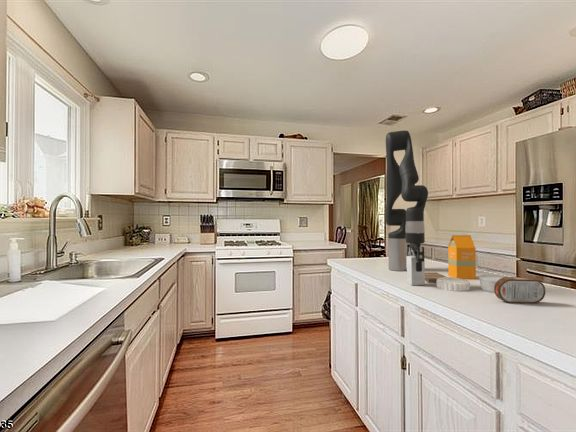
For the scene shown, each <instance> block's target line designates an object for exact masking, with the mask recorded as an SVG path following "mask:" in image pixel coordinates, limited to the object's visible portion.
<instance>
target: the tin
mask: <svg viewBox="0 0 576 432" xmlns="http://www.w3.org/2000/svg"><path fill="white" fill-rule="evenodd" d="M494 292H495V293H494V294H495V296H496V297H497V298H498V299H499V300H501V301H503V302H505V303H508V304H538V303H539V302H542V301H543V299H544V298H545V296H546V286H545V285H544V283H542V282H541V281H540V280H537V279H535V278H534V277H529V276H528V277H527V276H526V277H525V276H524V277H523V276H521V277H520V276H519V277H518V276H505V277H503V278H501V279H499V280H498V281H497V282H496V284H495V286H494Z"/></svg>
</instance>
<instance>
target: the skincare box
mask: <svg viewBox="0 0 576 432" xmlns="http://www.w3.org/2000/svg"><path fill="white" fill-rule="evenodd" d="M406 262H407V263H406V266H407V270H406V279H407V280H406V283H407V285H410V286H424V285H426V281H425V272H426V271H425V270H426V269H425V267H426V265H425V264H426V263H425V260H424V261H423V262H422V271H421V272H417V271H416V260H415V258H414V257H413V256H407V255H406Z"/></svg>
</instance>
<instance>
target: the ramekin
mask: <svg viewBox="0 0 576 432" xmlns="http://www.w3.org/2000/svg"><path fill="white" fill-rule="evenodd" d="M503 277H506V276H505V275H504V276H503V275H498V274H497V275H495V274H481V275H479V276H478V279H479V283H480V288H481V290H483V291H484V292H486V293H491V294H495V292H494V286H495V284H496V282H497V281H498V280H499V279H501V278H503Z"/></svg>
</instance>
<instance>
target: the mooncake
mask: <svg viewBox="0 0 576 432" xmlns="http://www.w3.org/2000/svg"><path fill="white" fill-rule="evenodd" d="M436 288H438V289H441V290H445V291H454V292H467V291H469V290H471V282H470V281H469V280H468V279H460V278H453V277H450V276H446V277H442V278H438V279H437V283H436Z"/></svg>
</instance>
